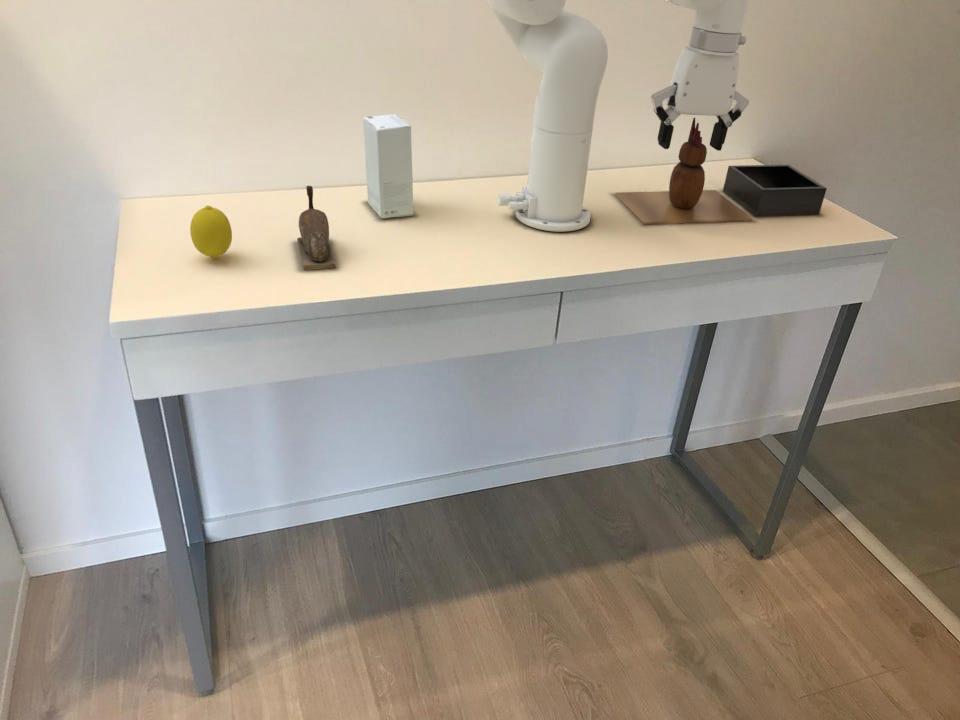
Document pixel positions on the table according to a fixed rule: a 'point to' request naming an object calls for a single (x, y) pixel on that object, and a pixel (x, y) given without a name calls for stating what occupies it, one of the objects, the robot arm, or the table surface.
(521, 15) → the robot arm
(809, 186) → the box
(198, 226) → the lemon
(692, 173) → the wooden figurine
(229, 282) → the table surface
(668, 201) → the brown wooden board
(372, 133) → the cosmetic box
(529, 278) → the table surface
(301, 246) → the figurine
